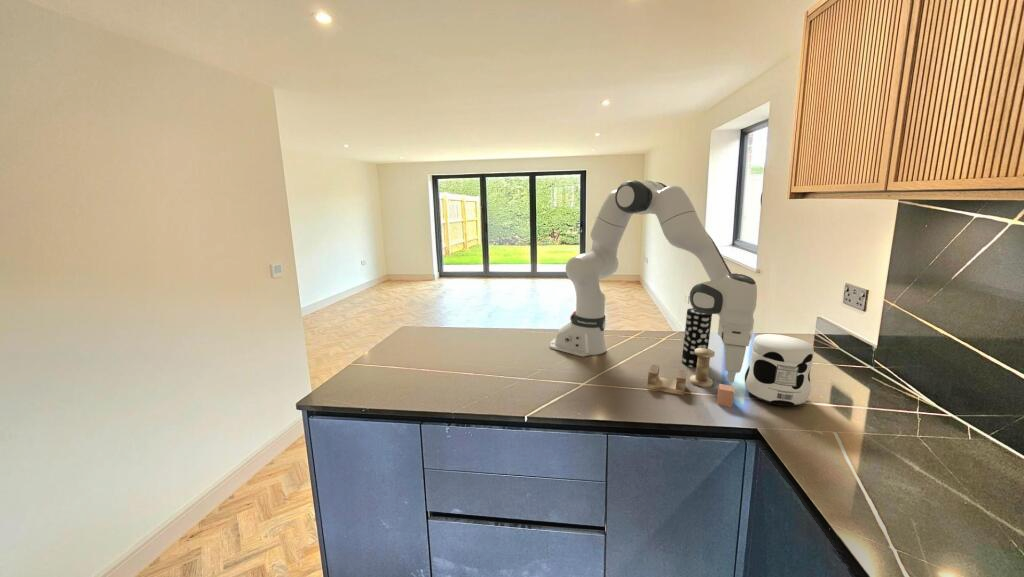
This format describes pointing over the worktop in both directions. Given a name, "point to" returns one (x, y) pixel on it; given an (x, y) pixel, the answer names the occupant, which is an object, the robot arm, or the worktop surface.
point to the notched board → (666, 381)
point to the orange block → (725, 395)
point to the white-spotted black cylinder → (695, 335)
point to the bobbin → (702, 368)
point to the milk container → (780, 369)
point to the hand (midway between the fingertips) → (729, 375)
